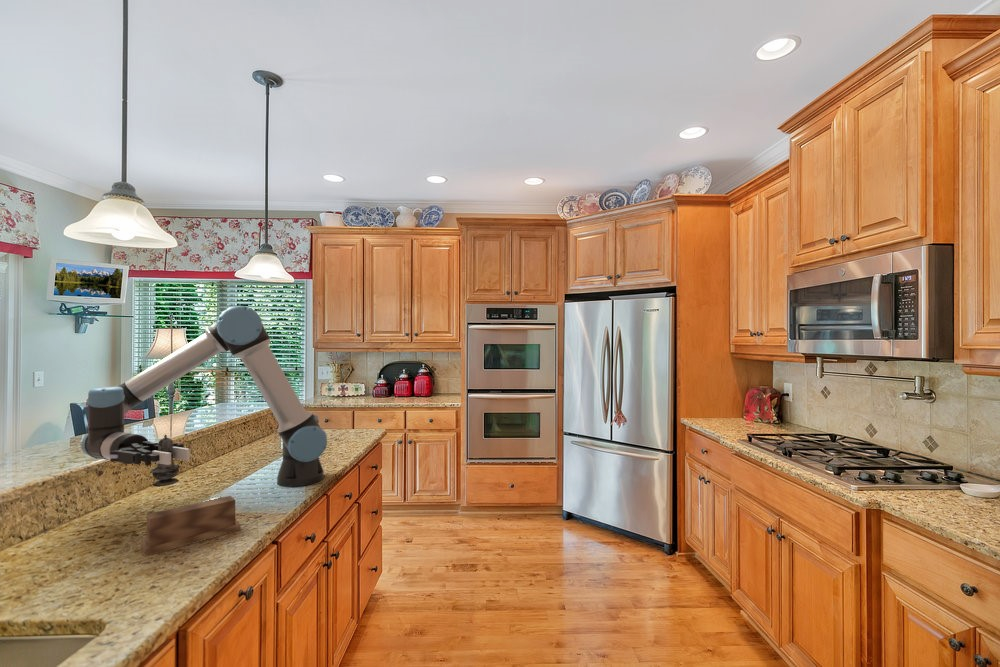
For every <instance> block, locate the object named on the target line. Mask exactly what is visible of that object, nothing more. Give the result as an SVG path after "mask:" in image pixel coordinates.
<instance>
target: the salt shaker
mask: <svg viewBox="0 0 1000 667" xmlns="http://www.w3.org/2000/svg"><path fill="white" fill-rule="evenodd" d="M157 443H158V451H162V452H169V453H171V464H170V465H165V464H159V463H157V465H156V467H154V468H153V469H151V470H150V472H151V473H152V477H153V478H154V479H156V481H155V482H154V483H152V486H153V487H166V486H171V485H174V484H177V483H179V482H180V480H179V479H178V478H176V476H177V475H178V474H179V469H180V468H181V465H179V464H175V462H174V458H173V453H174V451H173V439H172V438H170V437H168V435H167V434H166V433H165V434H164V435H163V438H162V439H159V441H158V442H157Z"/></svg>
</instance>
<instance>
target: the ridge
mask: <svg viewBox="0 0 1000 667" xmlns="http://www.w3.org/2000/svg"><path fill="white" fill-rule="evenodd" d="M204 501H205V500H204ZM237 530H240V531H241V523H240V522H239V521H237V520H236V499H235V498H234V497H233V496H232V495H228V496H223V497H220V498H218V499H214V500H209V501H205V502H203V501H201V502H200V501H199V502H196V503H192V504H188V505H183V506H178V507H177V506H176V507H173V508H170V509H169V508H168V509H165V510H160V511H156V512H151V513H147V514H146V540H142V541H140V548H141V549H140V550H141V551H142V553H143V555H144V557H147V556H150V555H154V554H158V553H162V552H165V550H166V551H168V550H169V549H170V550H173V549H176V547H177V548H180V546H181V547H183V545H184V546H187V544H188V545H191V544H190V543H192V544H194V543H193V542H195V543H198V542H197V541H199V542H202V541H201V540H203V541H205V540H204V539H206V540H209V539H208V538H210V539H212V538H211V537H214V538H216V537H215V536H217V537H219V536H218V535H221V536H223V535H222V534H225V535H228V534H227V533H229V534H231V533H230V532H232V533H235V532H234V531H236V532H238V531H237ZM172 548H173V549H172Z"/></svg>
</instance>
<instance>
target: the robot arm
mask: <svg viewBox="0 0 1000 667" xmlns="http://www.w3.org/2000/svg"><path fill="white" fill-rule="evenodd" d="M270 342H271V338H270V335H269V334H268V332H267V330H266V328H265V327H264V324H263V322H262V319H261V317H260V315H259V314H258V313H257V311H255V310H254V309H252V308H250V307H248V306H245V305H234V306H230V307H228V308H226V309H224V310H222V312H221V313H220V314H219V315H218V317H217V318H216V321H215V322H214V323H213V324H211V325H209V326H208V327H206V328H205V331H204V333H203V334H201V335H199V336H198V337H196V338H194V339H193V340H191V341H190V342H188V343H187V344H185V345H183V346H181V347H180V348H178V349H177V350H175V351H174V352H172V353H170V354H168V355H167V356H165V357H164V358H162V359H160V360H158V361H157V362H155V363H153V364H152V365H151V366H149V367H148V368H147V367H146V369H145V370H142V371H141V372H139V373H138V374H135V376H132V377H131V378H129V379H128V380H126V381H125V382H123V383H121V384H119V385H118V386H104V387H103V386H102V387H95V388H91V389H89V391H88V396H87V400H86V403H87V415H88V416H87V418H88V419H87V422H88V424H87V425H88V428H87V429H88V430H87V434H86V435H84V437H83V438H82V441H81V444H80V446H81V450H82V452H83V453H84V454H85V455H87V456H89V457H91V458H94V459H98V460H106V461H110V462H113V463H114V462H116V463H118V464H126V465H132V464H134V465H140V464H141V463H142V462H143V463H144V466H151V465H152V463H153V464H154V463H155V464H158V463H159V464H165V465H170V464H171V453H169V452H162V451H158V443H159V442H152V441H150V440H148V439H147V438H146V437H145V436H144V435H143V434H142V435H141V434H137V433H136V434H135V433H130V432H125V414H127V412H130V411H131V410H132V409H134V408H135V407H136V406H138V405H140V404H141V403H143V402H144V401H146V400H147V399H149V398H150V397H152V396H154V395H155V394H157V393H158V392H160V391H161V390H163V389H165V388H167V387H168V386H169V385H171V384H173V383H175V382H176V381H177V380H179V379H181V378H182V377H184V376H185V375H187V374H189V373H190V372H191V371H194V370H195V369H197V367H199V366H201V365H202V364H204V363H206V362H207V361H209V360H210V359H212V358H213V357H215V356H217V355H218V354H220V353H227V352H230V353H231V355H232V357H235V358H239V359H240V360H241V361H242V364H243V365H244V367H245V368H246V370H247V371H248V373H249V376H250V377H251V379H252V380H253V382H254V384H255V385H256V387H257V388H258V391H259V392H260V394H261V396H262V397H263V399H264V401H265V403H266V404H267V406H268V407H269V410H270V411H271V413H272V414H273V416H274V418H275V419H276V421H277V423H278V428H277V429H276V431H277V433H278V435H279V437H280V438H281V440H282V461H281V464H280V468H279V470H278V473H277V476H276V480H277V481H276V484H277V485H279V486H281V487H289V488H290V487H292V488H293V487H294V488H295V487H304V486H309V485H312V484H315V483H316V484H317V483H318V482H320V481H322V480H323V479H324V475H325V474H324V469H323V466H322V463H321V461H320V460H321V459H320V457H321V455H322V454H323V453H325V450H326V449H327V445H328V436H327V433H326V432H325V431H324V429H322V428H321V426H320V424H319V422H320V420H319V416H318V415H317V414H315V413H313V412H312V411H310V410H306V408H304V406H303V404H302V402H301V400H300V399H299V397H298V395H297V393H296V392H295V390H294V388H293V387H292V385H291V383H290V381H289V379H288V378H287V376H286V375H285V373H284V371H283V369H282V368H281V366H280V364H279V362H278V360H277V358H276V356H275V354H274V353H273V352H272V350H271V347H270V346H269V344H270ZM184 444H185V443H184ZM184 444H183V443H179V442H173V451H174V453H173V459H176V460H180V461H181V460H182V461H190V460H191V452H190V450H191V449H190V448H186V447H184V446H185V445H184Z"/></svg>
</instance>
